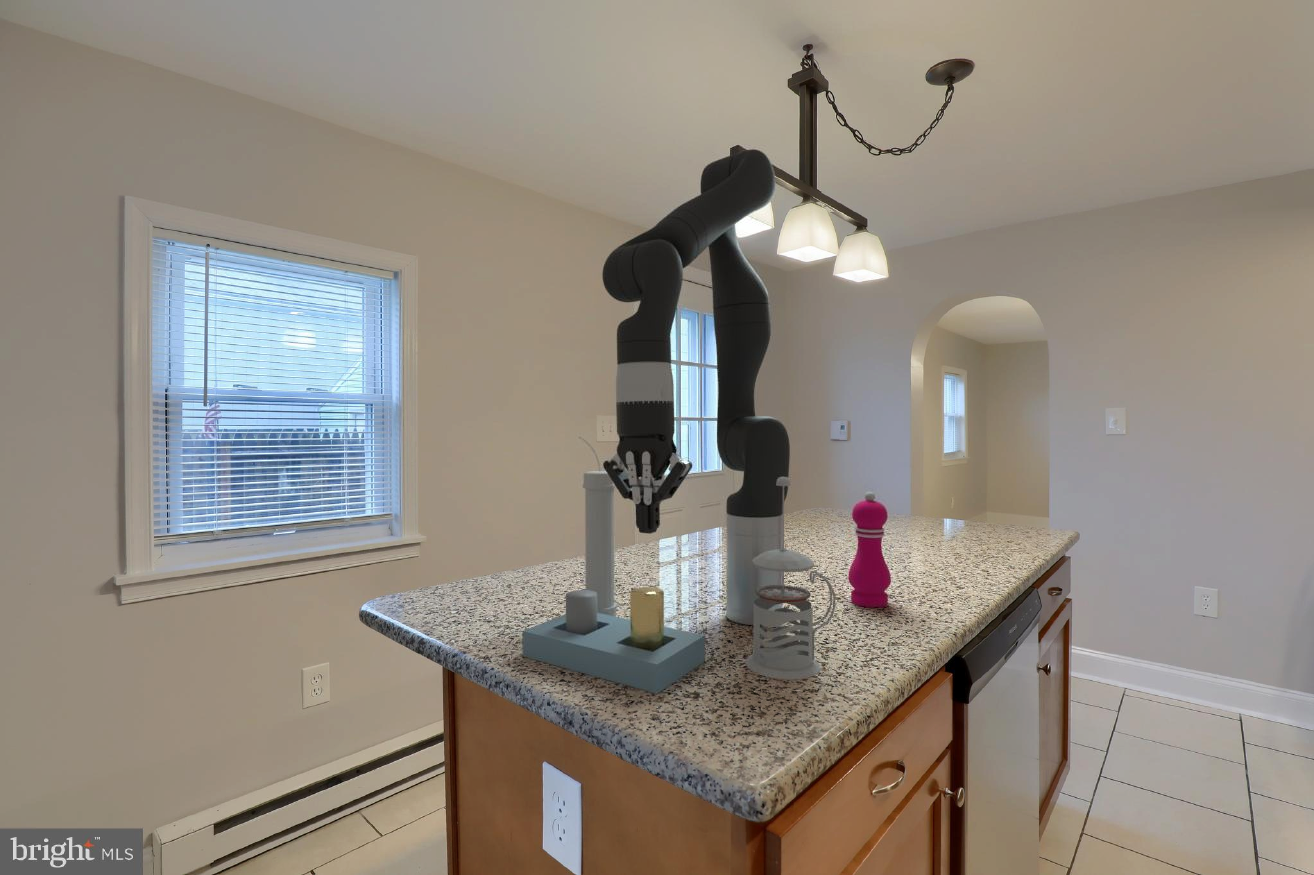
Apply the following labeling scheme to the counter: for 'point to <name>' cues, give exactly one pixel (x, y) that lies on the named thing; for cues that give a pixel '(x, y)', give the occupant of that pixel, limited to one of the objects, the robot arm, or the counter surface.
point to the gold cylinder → (647, 618)
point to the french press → (785, 617)
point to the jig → (611, 647)
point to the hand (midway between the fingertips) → (647, 532)
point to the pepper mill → (869, 555)
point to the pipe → (600, 538)
